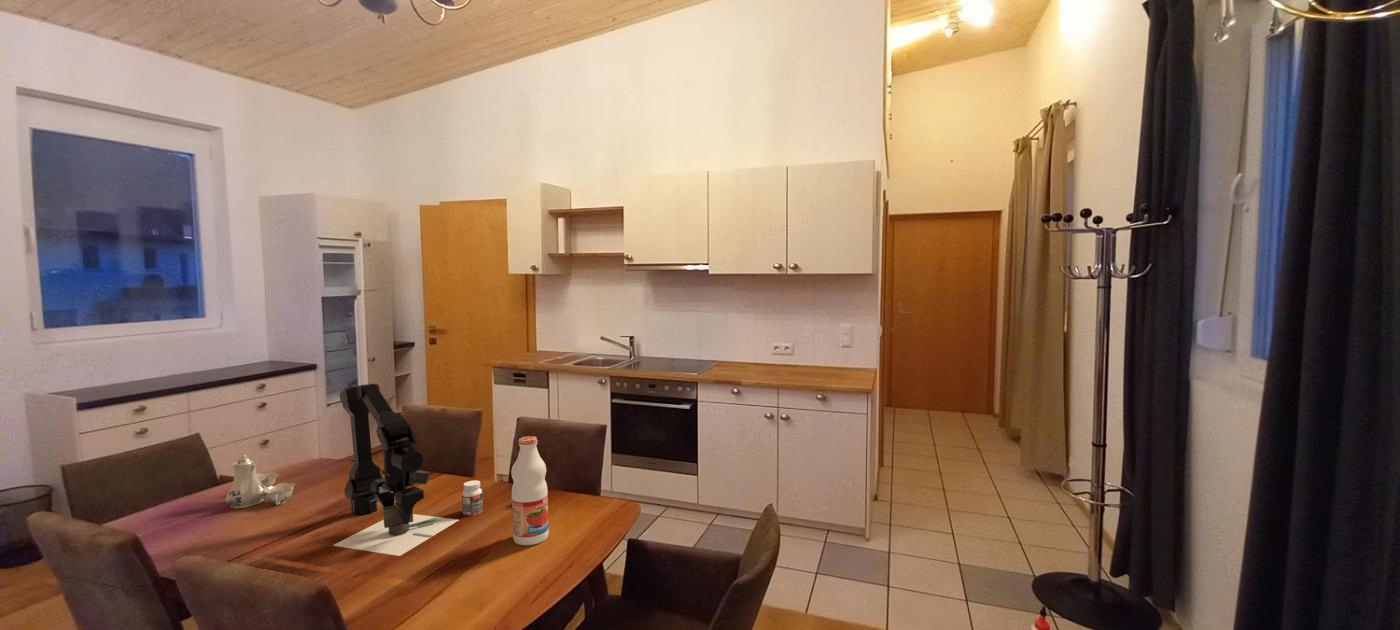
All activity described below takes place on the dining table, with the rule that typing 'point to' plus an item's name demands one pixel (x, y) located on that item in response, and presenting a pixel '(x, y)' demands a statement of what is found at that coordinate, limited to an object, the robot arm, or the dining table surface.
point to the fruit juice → (529, 495)
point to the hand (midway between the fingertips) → (398, 519)
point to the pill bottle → (472, 498)
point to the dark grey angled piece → (398, 521)
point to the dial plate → (395, 536)
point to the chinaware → (255, 486)
